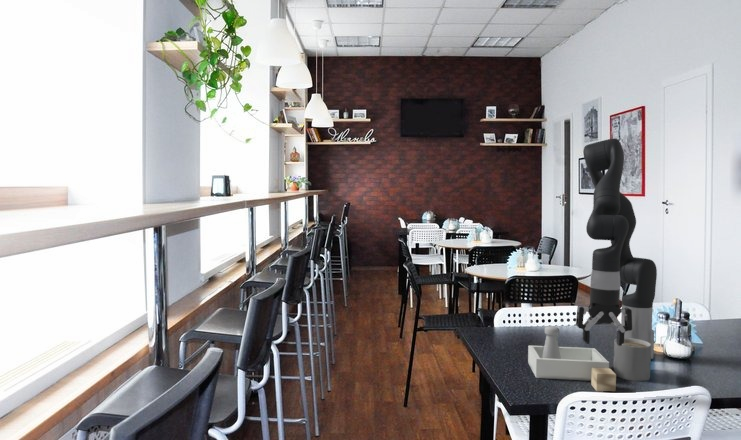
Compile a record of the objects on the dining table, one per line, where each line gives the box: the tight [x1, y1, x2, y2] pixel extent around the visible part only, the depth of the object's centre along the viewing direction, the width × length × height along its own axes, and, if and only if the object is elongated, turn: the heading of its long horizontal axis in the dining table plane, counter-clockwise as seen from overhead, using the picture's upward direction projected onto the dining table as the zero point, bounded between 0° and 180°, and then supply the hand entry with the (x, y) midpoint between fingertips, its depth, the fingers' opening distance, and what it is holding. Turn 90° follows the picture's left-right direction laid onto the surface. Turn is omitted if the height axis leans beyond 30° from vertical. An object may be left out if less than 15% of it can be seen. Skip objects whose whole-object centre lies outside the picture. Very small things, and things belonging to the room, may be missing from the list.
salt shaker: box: [542, 325, 561, 359], centre depth 162 cm, size 6×6×13 cm
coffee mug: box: [612, 338, 652, 382], centre depth 160 cm, size 13×10×10 cm
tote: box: [527, 345, 610, 382], centre depth 161 cm, size 20×14×6 cm
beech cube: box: [590, 368, 617, 392], centre depth 147 cm, size 5×5×5 cm
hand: (602, 344), depth 147 cm, fingers open, 8 cm apart
